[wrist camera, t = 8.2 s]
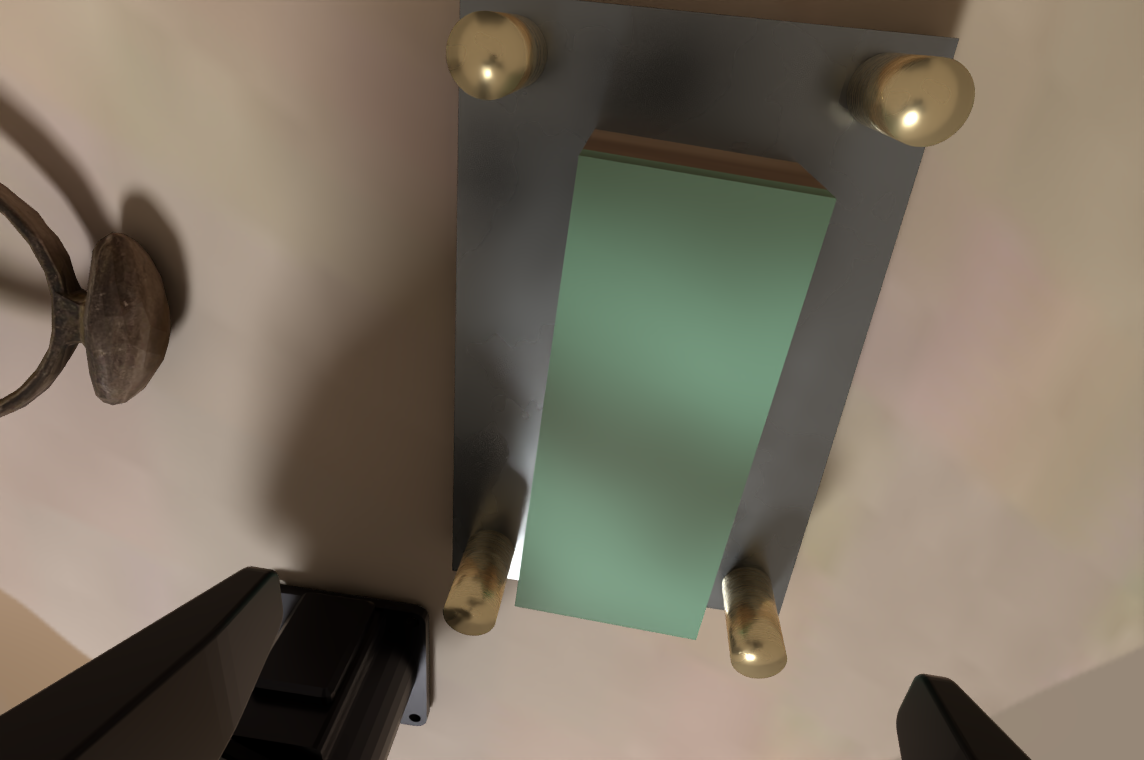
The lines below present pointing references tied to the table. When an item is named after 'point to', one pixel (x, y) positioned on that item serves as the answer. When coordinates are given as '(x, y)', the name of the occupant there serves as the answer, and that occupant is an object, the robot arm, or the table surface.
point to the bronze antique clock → (95, 311)
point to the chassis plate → (695, 117)
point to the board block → (662, 373)
